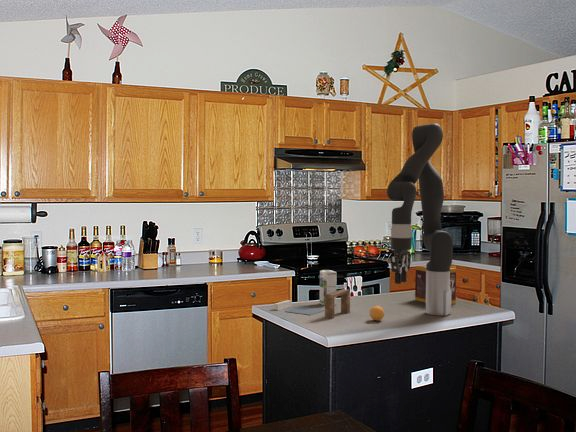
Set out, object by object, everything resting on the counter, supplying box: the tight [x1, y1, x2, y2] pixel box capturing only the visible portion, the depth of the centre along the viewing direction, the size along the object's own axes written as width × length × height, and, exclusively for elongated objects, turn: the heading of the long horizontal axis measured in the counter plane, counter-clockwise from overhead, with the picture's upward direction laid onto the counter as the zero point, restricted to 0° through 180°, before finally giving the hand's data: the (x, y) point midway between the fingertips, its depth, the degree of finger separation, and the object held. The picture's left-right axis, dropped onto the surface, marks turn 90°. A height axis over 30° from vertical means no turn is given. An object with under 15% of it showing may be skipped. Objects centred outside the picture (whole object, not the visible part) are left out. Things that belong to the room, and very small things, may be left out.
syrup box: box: [318, 269, 338, 307], centre depth 264 cm, size 6×6×14 cm
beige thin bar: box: [273, 299, 293, 311], centre depth 256 cm, size 2×10×2 cm, turn 146°
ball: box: [369, 305, 385, 322], centre depth 232 cm, size 6×6×6 cm
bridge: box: [324, 288, 351, 320], centre depth 241 cm, size 3×14×9 cm, turn 146°
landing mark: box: [284, 306, 325, 316], centre depth 250 cm, size 12×12×1 cm
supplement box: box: [414, 264, 457, 305], centre depth 271 cm, size 10×15×16 cm
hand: (400, 282), depth 226 cm, fingers open, 4 cm apart
